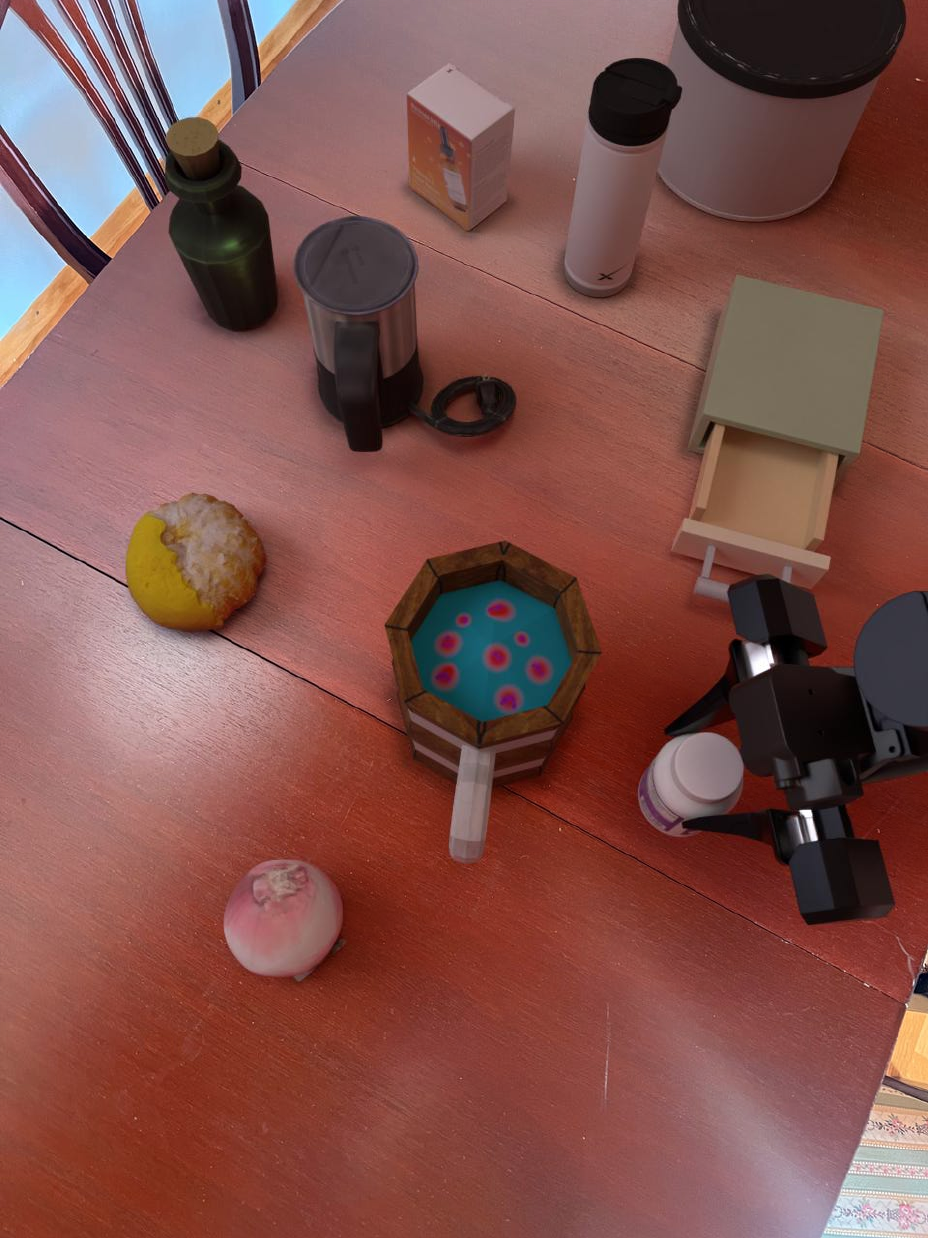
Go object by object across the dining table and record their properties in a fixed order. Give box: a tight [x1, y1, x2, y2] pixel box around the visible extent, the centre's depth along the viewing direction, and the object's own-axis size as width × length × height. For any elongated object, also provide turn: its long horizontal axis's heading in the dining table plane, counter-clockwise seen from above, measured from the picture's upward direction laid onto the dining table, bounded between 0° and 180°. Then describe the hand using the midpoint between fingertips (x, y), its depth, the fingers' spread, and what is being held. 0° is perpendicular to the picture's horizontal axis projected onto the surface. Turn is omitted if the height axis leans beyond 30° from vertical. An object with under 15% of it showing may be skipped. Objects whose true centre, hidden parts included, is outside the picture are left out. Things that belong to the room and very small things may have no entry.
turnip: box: [223, 859, 347, 983], centre depth 63 cm, size 8×8×7 cm
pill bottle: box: [637, 731, 745, 838], centre depth 59 cm, size 5×5×10 cm
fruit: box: [125, 492, 268, 633], centre depth 74 cm, size 11×10×8 cm
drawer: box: [671, 421, 839, 605], centre depth 76 cm, size 18×11×4 cm, turn 163°
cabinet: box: [686, 274, 885, 489], centre depth 81 cm, size 15×13×6 cm
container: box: [657, 0, 907, 223], centre depth 87 cm, size 19×19×15 cm
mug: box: [383, 540, 603, 865], centre depth 65 cm, size 20×14×15 cm
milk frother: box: [292, 215, 517, 453], centre depth 76 cm, size 14×16×15 cm
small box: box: [406, 62, 516, 232], centre depth 86 cm, size 8×6×10 cm
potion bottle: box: [164, 116, 279, 331], centre depth 78 cm, size 8×8×18 cm
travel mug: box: [563, 57, 682, 298], centre depth 79 cm, size 6×7×20 cm
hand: (676, 778), depth 57 cm, fingers closed on pill bottle, 5 cm apart
